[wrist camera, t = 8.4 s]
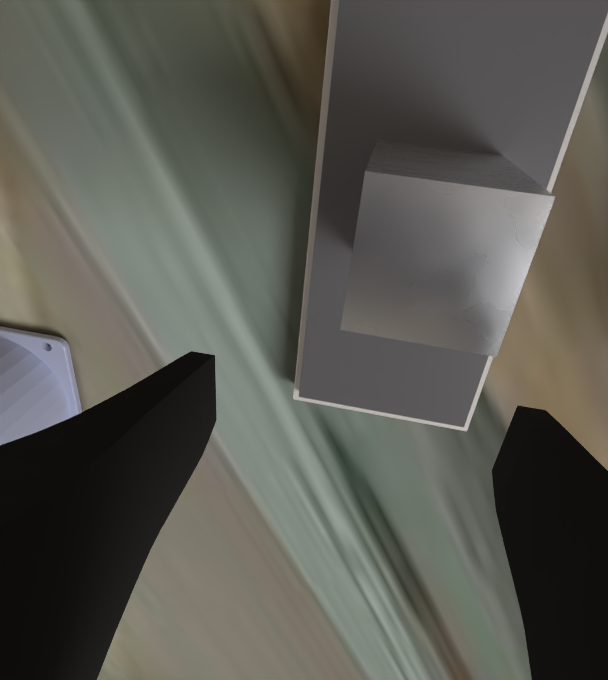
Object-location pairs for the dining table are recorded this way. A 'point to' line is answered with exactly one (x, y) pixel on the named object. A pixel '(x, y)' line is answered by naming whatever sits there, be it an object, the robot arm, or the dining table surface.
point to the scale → (432, 130)
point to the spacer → (442, 246)
